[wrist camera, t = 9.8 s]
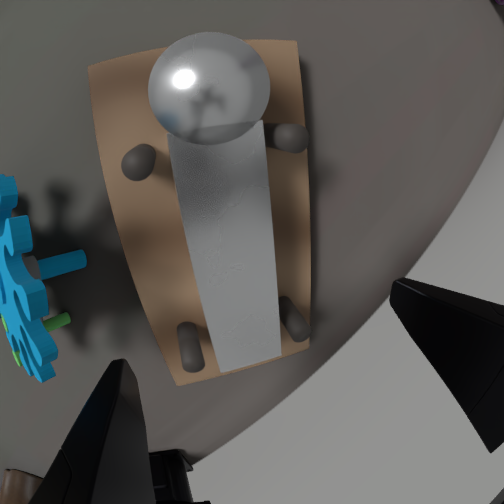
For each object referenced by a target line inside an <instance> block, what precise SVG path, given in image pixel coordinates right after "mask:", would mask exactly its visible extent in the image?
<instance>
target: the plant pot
mask: <svg viewBox="0 0 504 504" xmlns="http://www.w3.org/2000/svg"><path fill="white" fill-rule="evenodd" d="M42 480H43V479H41V478H39V477H37V476H35V475H32V474H29V473H26V472H22V471H18V470H14V469H12V470H10V471H9V470H8V469H6V470H5V471H4V476H3V481H2V486H1V492H0V504H28V502H29V501H30V499H31V498H32V496H33V494H34V493H35V491H36V490H37V488H38V487H39V485H40V483H41V482H42Z"/></svg>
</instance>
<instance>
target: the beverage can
mask: <svg viewBox="0 0 504 504" xmlns="http://www.w3.org/2000/svg"><path fill="white" fill-rule="evenodd" d="M495 1H496V2H497V3H498V4H499V5H504V0H495Z"/></svg>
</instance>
